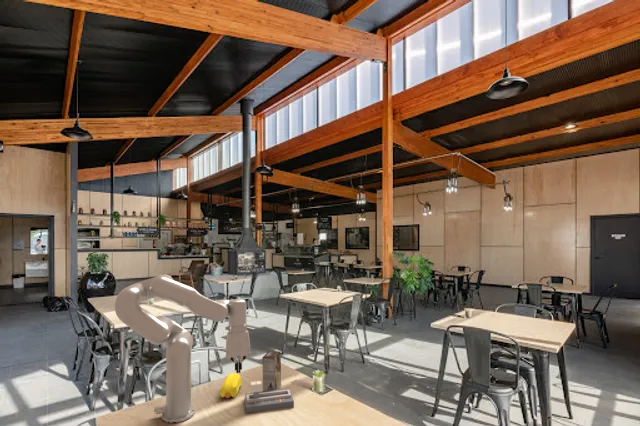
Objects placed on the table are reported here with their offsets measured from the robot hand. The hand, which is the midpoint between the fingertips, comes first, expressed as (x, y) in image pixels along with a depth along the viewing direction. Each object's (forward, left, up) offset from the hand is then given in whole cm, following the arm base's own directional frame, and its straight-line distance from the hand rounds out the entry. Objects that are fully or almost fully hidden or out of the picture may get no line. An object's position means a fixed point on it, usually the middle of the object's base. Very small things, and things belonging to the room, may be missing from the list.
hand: (238, 371), depth 149 cm
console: (+13, 0, -15) cm, 20 cm away
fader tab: (+8, 0, -12) cm, 14 cm away
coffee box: (+16, +14, -15) cm, 26 cm away
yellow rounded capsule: (-3, +16, -15) cm, 23 cm away
